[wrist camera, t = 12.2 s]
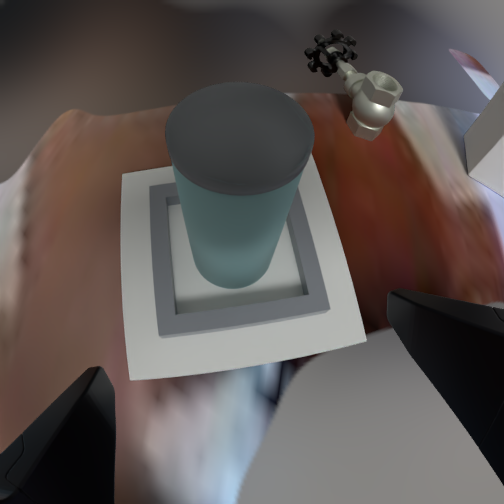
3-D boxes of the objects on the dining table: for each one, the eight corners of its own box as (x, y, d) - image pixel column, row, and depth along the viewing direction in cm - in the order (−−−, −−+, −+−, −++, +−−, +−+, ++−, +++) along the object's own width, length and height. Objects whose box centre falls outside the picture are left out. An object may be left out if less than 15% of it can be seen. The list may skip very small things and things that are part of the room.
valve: (396, 141, 30) (346, 72, 34) (422, 97, 24) (360, 31, 28) (345, 146, 29) (299, 73, 33) (367, 96, 23) (309, 27, 27)
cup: (279, 283, 22) (333, 178, 11) (197, 295, 21) (167, 195, 10) (264, 211, 24) (293, 80, 13) (188, 220, 23) (165, 88, 12)
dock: (361, 342, 21) (374, 338, 19) (134, 380, 19) (124, 380, 17) (308, 160, 27) (314, 144, 25) (125, 180, 25) (118, 165, 23)
